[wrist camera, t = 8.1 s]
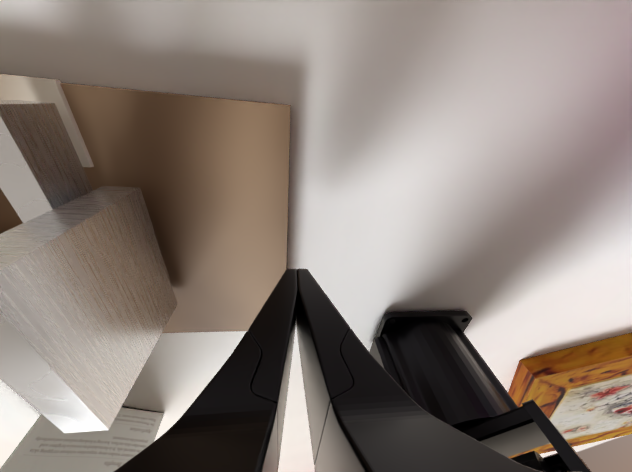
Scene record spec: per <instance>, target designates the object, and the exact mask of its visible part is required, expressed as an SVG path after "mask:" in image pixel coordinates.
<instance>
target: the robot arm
mask: <svg viewBox="0 0 632 472" xmlns="http://www.w3.org/2000/svg"><path fill="white" fill-rule="evenodd" d="M471 320H472V317H471V315H470V314H469V313H468V312H467V311H433V312H389V313H387V314H385V315H384V316H383V318H382V321H381V324H380V327H379V330H378V332H377V335H376V338H375V339H374V341H373V344H372V347H371V350H370V352H369V351H368V350H367V349H366V348H365V346H364V345H363V344H362V343H361V341H360V340H359V339H358V337H357V336H356V335H355V333H354V332H353V331H352V329H350V327H349V325H348V324H347V323H346V321H345V320H344V318H343V317H342V316H341V314H340V313H339V312H338V310H337V309H336V308H335V306H334V305H333V304H332V302H331V301H330V299H329V298H328V297H327V295H326V294H325V293H324V291H323V290H322V289H321V287H320V286H319V284H318V283H317V282H316V280H315V279H314V278H313V276H312V275H311V274H310V272H309V271H308V270H307V269H297V270H296V269H286V270H285V272H284V274H283V275H282V277H281V278H280V280H279V282H278V283H277V285H276V286H275V288H274V289H273V291H272V293H271V294H270V296H269V297H268V299H267V300H266V302H265V304H264V305H263V307H262V308H261V310H260V311H259V313H258V315H257V316H256V318H255V319H254V321H253V323H252V324H251V326H250V327H249V329H248V331H247V332H246V333H245V335H244V337H243V338H242V340H241V341H240V343H239V344H238V346H237V347H236V349H235V350H234V352H233V353H232V354H231V356H230V357H229V358H228V360H227V361H226V362H225V364H224V365H223V366H222V367H221V369H220V370H219V371H218V373H217V374H216V375H215V376H214V377H213V379H212V380H211V381H210V382H209V384H208V385H207V386H206V387H205V389H204V390H203V391H202V392H201V394H200V395H199V396H198V397H197V399H196V400H195V401H194V402H193V403H192V405H191V406H190V407H189V408H188V410H187V411H186V412H185V413H184V414H183V416H182V417H181V418H180V419H179V420H178V421H177V422H176V423H175V424H174V425H173V426H172V427H171V428H170V429H169V430H168V431H167V432H166V433H165V434H163V435H162V436H161V437H160V438H158V439H157V440H156V441H154V442H153V443H152V444H150V445H149V446H148V447H146V448H145V449H144V450H142V451H141V452H140V453H138V454H137V455H136V456H134V457H133V458H131V459H130V460H129V461H127V462H126V463H125V464H123V465H122V466H121V467H119V468H118V469H117V470H115V471H114V472H278V465H279V457H280V449H281V441H282V433H283V425H284V416H285V408H286V400H287V392H288V384H289V376H290V368H291V360H292V352H293V344H294V336H295V327H297V335H298V343H299V351H300V358H301V366H302V374H303V382H304V389H305V397H306V405H307V413H308V420H309V428H310V436H311V444H312V451H313V459H314V465H315V472H591V471H590V469H589V468H588V467H587V465H586V464H585V463H584V462H583V460H582V459H581V458H580V457H579V455H578V454H577V453H576V452H575V450H574V449H573V448H572V447H571V445H570V444H569V443H568V442H567V440H566V439H565V438H564V437H563V435H562V434H561V433H560V432H559V431H558V429H557V428H556V427H555V426H554V424H553V423H552V422H551V421H550V419H549V418H548V417H547V416H546V415H545V413H544V412H543V411H542V410H541V409H540V407H539V406H538V405H537V404H536V403H535V401H534V400H533V399H532V400H529V401H527V402H524V403H522V405H523V406H521V407H518V406H517V405H516V403H515V402H514V401H513V399H512V398H511V397H510V395H509V394H508V393H507V391H506V390H505V388H504V387H503V386H502V384H501V383H500V382H499V380H498V379H497V378H496V376H495V375H494V373H493V372H492V371H491V369H490V368H489V367H488V365H487V364H486V363H485V361H484V360H483V358H482V357H481V356H480V354H479V353H478V352H477V350H476V349H475V348H474V346H473V345H472V344H471V342H470V341H469V339H468V338H467V337H466V335H465V334H464V333H463V332H464V330H465V329H466V327H467V326H468V324H469V323H470V321H471ZM549 443H551V444H552V446H553V447H554V448H555V450H556V451H557V453H556V454H553V455H550V456H547V457H544V458H542V457H541V456H540V455H539V454H538V453H537V452H535V451H531V452H528V453H525V454H522V455H519V456H516V457H513V458H508V457H509V456H512V455H515V454H519V453H522V452H525V451H528V450H531V449H534V448H537V447H540V446H543V445H546V444H549Z"/></svg>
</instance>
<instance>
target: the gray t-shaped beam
mask: <svg viewBox="0 0 632 472" xmlns="http://www.w3.org/2000/svg"><path fill="white" fill-rule="evenodd" d="M0 188H1V190H2V191H3V193H4V194H5V196H6V197H7V199H8V200H9V202H10V204H11V205H12V207H13V208H14V210H15V211H16V213H17V214H18V216H19V217H20V219H21V220H22V222H23V224H21V225H18V226H16V227H14V228H12V229H10V230H8V231H5V232H3V233H1V234H0V379H1V380H2V381H3V382H4V383H6V384H7V385H8V386H9V387H10V388H11V389H13V390H14V391H15V392H16V393H17V394H19V395H20V396H21V397H22V398H23V399H24V400H26V401H27V402H28V403H29V404H30V405H32V406H33V407H34V408H35V409H36V410H38V411H39V412H40V413H41V414H42V415H43V416H45V417H46V418H47V419H48V420H49V421H51V422H52V423H53V424H54V425H55V426H56V427H58V428H59V429H60V430H61V431H62V432H64V433H75V432H89V431H102V430H109V428H110V426H111V425H112V423H113V421H114V419H115V417H116V416H117V414H118V412H119V410H120V408H121V406H122V405H123V403H124V401H125V399H126V397H127V396H128V394H129V392H130V390H131V388H132V386H133V385H134V383H135V381H136V379H137V377H138V376H139V374H140V372H141V370H142V368H143V367H144V365H145V363H146V361H147V359H148V357H149V356H150V354H151V352H152V350H153V348H154V347H155V345H156V343H157V341H158V339H159V338H160V336H161V334H162V332H163V330H164V328H165V327H166V325H167V323H168V321H169V319H170V318H171V316H172V314H173V312H174V310H175V309H176V307H177V305H178V303H177V300H176V297H175V294H174V291H173V288H172V285H171V282H170V278H169V275H168V272H167V269H166V266H165V263H164V260H163V257H162V254H161V251H160V248H159V244H158V241H157V238H156V235H155V232H154V229H153V226H152V223H151V220H150V217H149V214H148V210H147V207H146V204H145V201H144V198H143V195H142V192H141V189H140V188H135V187H114V186H102V187H100V188H98V189H96V190H94V191H93V190H92V187H91V185H90V183H89V180H88V178H87V176H86V174H85V171H84V169H83V167H82V164H81V162H80V160H79V158H78V155H77V153H76V151H75V148H74V146H73V144H72V142H71V139H70V137H69V135H68V132H67V130H66V128H65V126H64V123H63V121H62V119H61V116H60V114H59V112H58V110H57V107H56V105H55V103H47V102H35V101H24V100H0Z"/></svg>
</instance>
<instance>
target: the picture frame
mask: <svg viewBox="0 0 632 472" xmlns="http://www.w3.org/2000/svg"><path fill="white" fill-rule="evenodd" d="M508 394H509V395H510V397H511V398H512V399H513V401H514V402H515V403H516V405H517V406H518V407H521V406H523V405H522V403H524V402H527V401H529V400H532V399H533V400H534V401H535V403H536V404H537V405H538V406H539V407H540V409H541V410H542V411H543V412H544V413H545V415H546V416H547V417H548V418H549V419H550V421H551V422H552V423H553V424H554V426H555V427H556V428H557V429H558V431H559V432H560V433H561V434H562V435H563V437H564V438H565V439H566V440H567V442H568V443H569V444H570V445H571V447H573V446H578V445H583V444H587V443H592V442H596V441H601V440H606V439H610V438H615V437H620V436H624V435H629V434H632V333H628V334H624V335H620V336H616V337H612V338H608V339H604V340H600V341H596V342H592V343H588V344H584V345H580V346H576V347H572V348H567V349H563V350H559V351H555V352H551V353H547V354H543V355H539V356H535V357H531V358H527V359H523V360H520V361H519V364H518V366H517V369H516V372H515V375H514V378H513V381H512V383H511V386H510V389H509V392H508ZM531 451H535V452H537V453H538V454H541V453H546V452H550V451H555V448H554V447H553V446H552V444H551V443H549V444H546V445H543V446H540V447H537V448H534V449H531V450H528V451H525V452H522V453H519V454H515V455H512V456H509V457H508V458H513V457H516V456H519V455H522V454H525V453H528V452H531Z"/></svg>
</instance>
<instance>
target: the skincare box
mask: <svg viewBox="0 0 632 472" xmlns="http://www.w3.org/2000/svg"><path fill="white" fill-rule="evenodd" d="M163 415H164V414H163V413H158V412H150V411H143V410H136V409H129V408H122V407H121V408H120V410H119V412H118V414H117V416H116V417H115V419H114V421H113V423H112V425H111V426H110V428H109V430H102V431H89V432H75V433H64V432H62V431H61V430H60V429H59V428H58V427H56V426H55V425H54V424H53V423H52V422H51V421H49V420H48V419H47V418H46V417H45V416H43V415H42V414H41V415H40V417H39V418H38V419H37V421H36V422H35V423H34V425H33V426H32V427H31V429H30V430H29V431H28V433H27V434H26V435H25V437H24V438H23V439H22V441H21V442H20V443H19V445H18V446H17V447H16V449H15V450H14V451H13V453H12V454H11V455H10V457H9V458H8V459H7V461H6V462H5V463H4V465H3V466H2V467H1V469H0V472H114V471H115V470H117V469H118V468H119V467H121V466H122V465H123V464H125V463H126V462H127V461H129V460H130V459H131V458H133V457H134V456H136V455H137V454H138V453H140V452H141V451H142V450H144V449H145V448H146V447H148V446H149V445H150V444H152V443H153V442H154V440H155V437H156V434H157V432H158V429H159V426H160V423H161V421H162V418H163Z"/></svg>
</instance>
